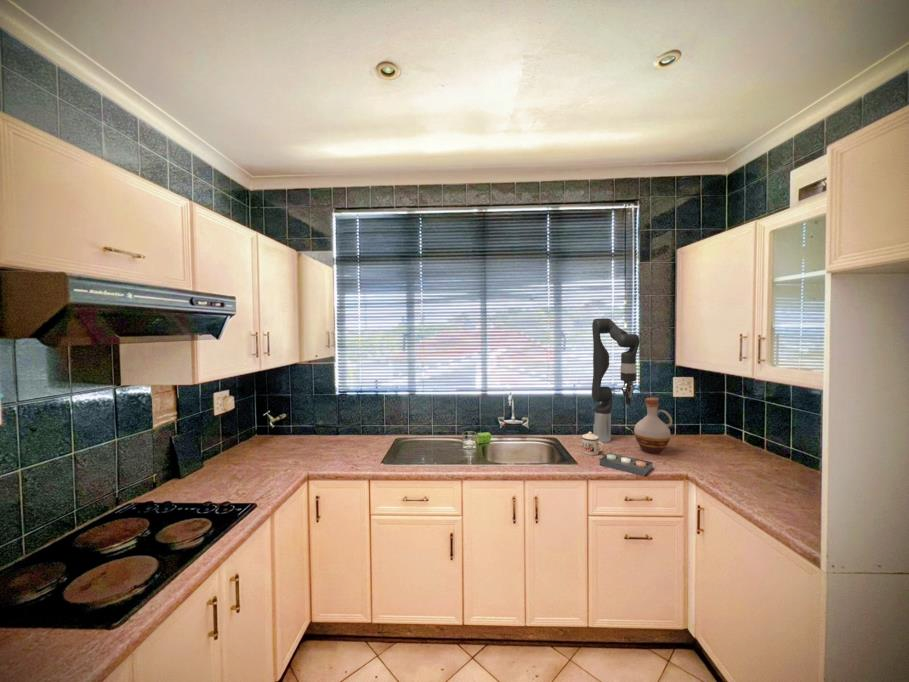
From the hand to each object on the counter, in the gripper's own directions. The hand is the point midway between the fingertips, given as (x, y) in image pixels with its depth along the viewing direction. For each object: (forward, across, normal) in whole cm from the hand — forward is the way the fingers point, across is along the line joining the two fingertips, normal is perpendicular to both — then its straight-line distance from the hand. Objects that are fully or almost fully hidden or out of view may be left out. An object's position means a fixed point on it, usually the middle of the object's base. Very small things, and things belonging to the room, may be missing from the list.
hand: (628, 404), depth 190 cm
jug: (+29, -20, +7) cm, 36 cm away
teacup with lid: (+29, +5, -17) cm, 34 cm away
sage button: (+28, +13, -4) cm, 32 cm away
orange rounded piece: (+28, +13, +10) cm, 33 cm away
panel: (+29, +13, +3) cm, 32 cm away
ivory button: (+28, +13, +3) cm, 31 cm away
